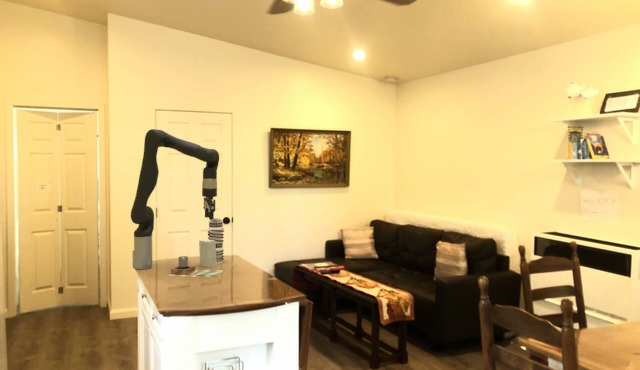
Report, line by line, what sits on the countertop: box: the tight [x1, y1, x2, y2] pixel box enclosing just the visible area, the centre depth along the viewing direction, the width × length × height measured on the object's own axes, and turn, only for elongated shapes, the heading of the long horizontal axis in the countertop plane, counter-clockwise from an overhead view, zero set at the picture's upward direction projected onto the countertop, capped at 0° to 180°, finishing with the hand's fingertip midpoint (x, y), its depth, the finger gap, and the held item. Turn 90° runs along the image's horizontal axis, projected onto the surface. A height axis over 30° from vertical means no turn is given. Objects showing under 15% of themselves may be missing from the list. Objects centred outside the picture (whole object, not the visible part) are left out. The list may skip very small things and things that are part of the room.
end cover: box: [178, 255, 189, 269], centre depth 242 cm, size 4×4×8 cm
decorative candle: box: [207, 217, 225, 265], centre depth 272 cm, size 9×9×25 cm
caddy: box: [165, 265, 224, 280], centre depth 241 cm, size 25×14×4 cm, turn 83°
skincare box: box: [198, 238, 218, 268], centre depth 259 cm, size 8×6×15 cm
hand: (209, 218), depth 249 cm, fingers open, 8 cm apart
